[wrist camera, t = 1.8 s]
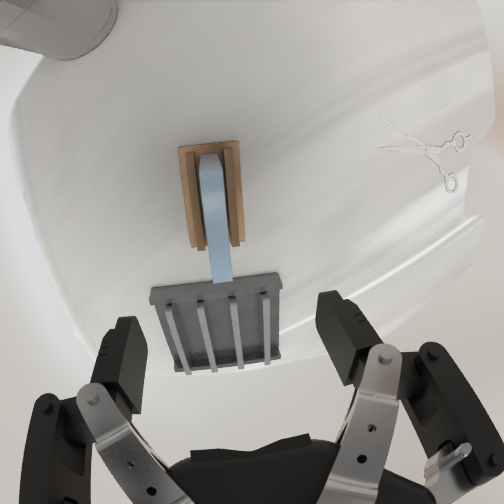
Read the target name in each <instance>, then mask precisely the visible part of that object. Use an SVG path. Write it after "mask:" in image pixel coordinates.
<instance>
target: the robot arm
mask: <svg viewBox="0 0 504 504" xmlns="http://www.w3.org/2000/svg"><path fill="white" fill-rule="evenodd" d="M116 16H117V4H116V1H115V0H0V45H4V46H9V47H14V48H19V49H23V50H27V51H31V52H35V53H39V54H42V55H45V56H49V57H53V58H56V59H60V60H71V59H75V58H78V57H80V56H83V55H85V54H87V53H88V52H90V51H91V50H93V49H94V48H95V47H96V46H97V45H99V44H100V43H101V42H102V41H103V39H104V38H105V37H106V36H107V35H108V33H109V32H110V30H111V29H112V27H113V25H114V23H115V20H116ZM315 321H316V328H317V331H318V333H319V335H320V337H321V339H322V341H323V343H324V345H325V347H326V350H327V352H328V354H329V356H330V357H331V360H332V362H333V364H334V366H335V368H336V370H337V372H338V374H339V376H340V378H341V380H342V383H343V385H344V386H346V385H349V384H353V385H354V387H355V390H354V393H353V396H352V399H351V402H350V405H349V408H348V411H347V413H346V416H345V419H344V422H343V424H342V427H341V429H340V431H339V434H338V436H337V438H336V441H335V443H333V442H330V441H325V440H317V439H310V436H309V433H307V434H303V435H299V436H295V437H291V438H285V439H281V440H278V441H276V442H274V443H271V444H269V445H267V446H264V447H262V448H259V449H257V450H254V451H236V450H228V449H208V450H191V451H190V453H191V457H189V458H186V459H184V460H181V461H179V462H177V463H175V464H174V465H173V466H171V467H170V468H169V467H168V466H167V465H166V463H165V462H164V461H163V460H162V459H161V458H160V457H159V456H158V455H157V454H156V453H155V451H154V450H153V449H152V448H151V446H150V445H149V444H148V443H147V442H146V440H145V439H144V438H143V436H142V435H141V434H140V432H139V431H138V430H137V428H136V427H135V426H134V424H133V423H132V422H131V420H132V414H141V405H142V394H143V386H144V377H145V369H146V362H147V355H148V348H147V342H146V339H145V337H144V335H143V332H142V330H141V327H140V325H139V322H138V320H137V318H136V316H127V317H119V318H118V320H117V323H116V326H115V329H110V330H109V331H108V332H107V333H106V335H105V336H104V337H103V340H102V343H101V346H100V347H101V348H100V349H99V353H98V356H97V359H96V363H95V366H94V370H93V374H92V377H91V381H90V383H89V384H87V385H85V386H83V387H82V388H81V389H80V390H79V392H78V394H77V396H76V397H73V398H68V399H64V400H59V399H58V398H57V396H55V395H54V394H51V393H46V394H43V395H41V396H40V397H39V398H38V399H37V400H36V402H35V404H34V408H33V412H32V416H31V420H30V424H29V429H28V434H27V439H26V444H25V450H24V456H23V463H22V471H21V480H20V494H19V504H91V496H90V495H91V491H90V490H91V487H90V485H91V484H90V483H91V457H92V443H96V444H95V447H96V449H97V451H98V453H99V455H100V456H101V458H102V460H103V461H104V463H105V464H106V466H107V467H108V469H109V471H110V472H111V474H112V475H113V476H114V478H115V479H116V481H117V482H118V484H119V485H120V487H121V488H122V489H123V491H124V492H125V493H126V495H127V496H128V497H129V499H130V500H131V501H132V503H133V504H451V503H453V502H454V501H456V500H457V499H459V498H460V497H462V496H463V495H465V494H466V493H468V492H470V491H472V490H474V489H475V488H477V487H479V486H481V485H483V484H485V483H486V482H488V481H490V480H492V479H493V478H495V477H497V476H498V475H500V474H501V473H502V472H503V471H504V443H503V441H502V439H501V437H500V435H499V433H498V431H497V430H496V428H495V426H494V424H493V422H492V421H491V419H490V417H489V415H488V414H487V412H486V410H485V408H484V407H483V405H482V403H481V402H480V400H479V399H478V397H477V395H476V394H475V392H474V390H473V389H472V387H471V386H470V384H469V383H468V381H467V380H466V378H465V377H464V375H463V374H462V372H461V371H460V369H459V368H458V366H457V365H456V363H455V362H454V360H453V359H452V357H451V356H450V355H449V353H448V352H447V350H446V349H445V348H444V347H443V346H442V345H440V344H439V343H436V342H426V343H424V344H423V345H422V346H421V347H420V349H419V351H418V352H400V351H399V350H398V349H397V348H396V347H394V346H392V345H390V344H384V343H383V341H382V340H381V339H380V337H379V336H378V334H377V333H376V331H375V330H374V328H373V327H372V326H371V324H370V323H369V321H367V318H366V317H365V316H364V314H363V313H362V311H361V310H360V309H359V307H358V306H357V305H356V304H355V303H353V302H352V301H350V300H349V299H345V300H343V299H342V297H341V296H340V294H339V293H338V292H337V291H336V290H332V291H327V292H321V293H319V295H318V302H317V310H316V319H315ZM398 400H401V402H402V404H403V406H404V408H405V410H406V412H407V414H408V416H409V418H410V420H411V422H412V424H413V426H414V429H415V431H416V433H417V435H418V437H419V439H420V442H421V444H422V446H423V448H424V450H425V453H426V455H427V457H428V461H427V462H426V464H425V469H424V477H425V479H426V482H425V485H424V486H423V485H420V484H418V483H415V482H413V481H411V480H408V479H406V478H404V477H402V476H399V475H397V474H395V473H393V472H391V471H389V470H386V469H384V466H385V463H386V459H387V456H388V452H389V448H390V445H391V440H392V437H393V432H394V428H395V424H396V419H397V414H398V409H399V401H398Z"/></svg>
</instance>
